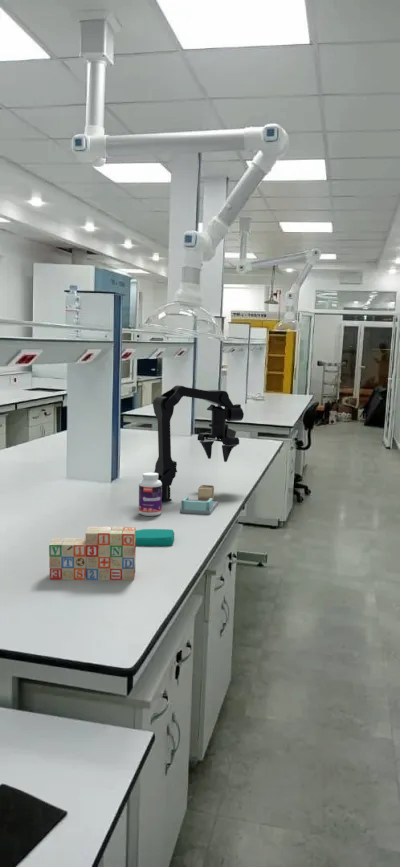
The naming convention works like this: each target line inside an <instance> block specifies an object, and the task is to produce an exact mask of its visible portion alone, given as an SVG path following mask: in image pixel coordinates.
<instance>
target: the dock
mask: <svg viewBox="0 0 400 867" xmlns="http://www.w3.org/2000/svg"><path fill="white" fill-rule="evenodd" d="M180 504H181V506H180V509H179V513H184V514H198V515H199V514H201V515H211V514H212V513H213V512H214V511H215V509H216V508H217V506H218V505H219V502H218V500H217V501H215V500H213V498H210V499H209V500H208V501H203V500H198V499H189V496H185V497H184V498H183V499H182V500H181V503H180Z"/></svg>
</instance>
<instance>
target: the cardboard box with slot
mask: <svg viewBox="0 0 400 867" xmlns="http://www.w3.org/2000/svg"><path fill="white" fill-rule="evenodd" d="M210 498H213V501H215V485H212V484H211V485H208V484H202V485H200V486H199V487H198V488H197V500H203V501H208V500H209V499H210Z"/></svg>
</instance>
